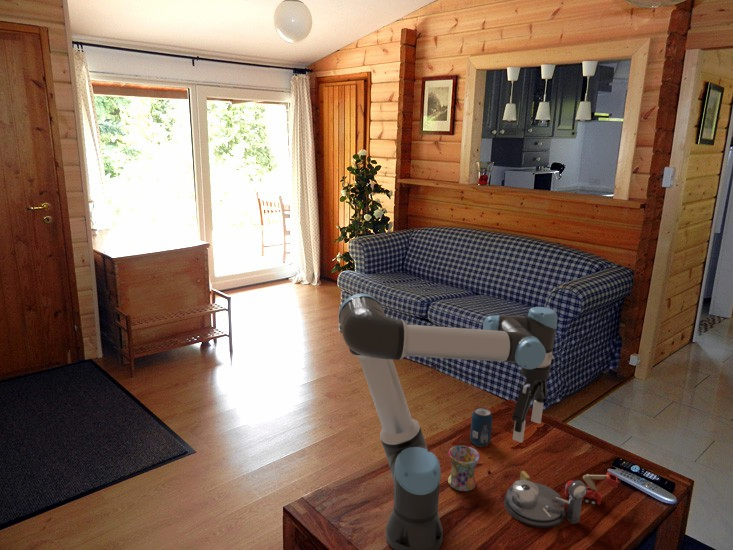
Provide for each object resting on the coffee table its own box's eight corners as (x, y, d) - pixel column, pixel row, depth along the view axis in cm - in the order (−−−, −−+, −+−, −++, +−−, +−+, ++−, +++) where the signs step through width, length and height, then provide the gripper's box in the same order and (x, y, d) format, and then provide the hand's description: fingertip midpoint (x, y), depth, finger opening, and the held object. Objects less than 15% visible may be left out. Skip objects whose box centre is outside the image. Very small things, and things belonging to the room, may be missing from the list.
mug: (481, 492, 167) (484, 461, 164) (452, 495, 165) (454, 464, 162) (467, 469, 178) (470, 439, 175) (440, 471, 176) (442, 441, 174)
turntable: (524, 526, 151) (526, 509, 149) (496, 490, 166) (498, 474, 164) (575, 517, 155) (578, 500, 153) (543, 482, 170) (545, 467, 168)
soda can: (477, 434, 198) (480, 404, 195) (494, 442, 193) (497, 411, 190) (465, 441, 193) (468, 410, 190) (482, 450, 188) (484, 418, 185)
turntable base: (523, 532, 151) (523, 528, 150) (493, 493, 166) (494, 489, 166) (577, 522, 155) (578, 518, 155) (543, 485, 171) (544, 481, 170)
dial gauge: (563, 526, 153) (568, 486, 150) (552, 513, 158) (557, 475, 155) (582, 522, 155) (588, 483, 152) (571, 510, 160) (577, 472, 156)
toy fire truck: (564, 491, 168) (568, 463, 166) (613, 503, 163) (618, 474, 161) (563, 497, 165) (567, 469, 163) (613, 510, 160) (618, 481, 158)
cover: (519, 510, 155) (521, 496, 154) (507, 495, 161) (508, 481, 160) (541, 507, 157) (543, 493, 155) (528, 491, 163) (530, 478, 162)
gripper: (532, 381, 142) (522, 454, 147) (564, 353, 161) (554, 419, 167) (505, 372, 146) (496, 444, 152) (539, 346, 166) (530, 410, 171)
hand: (526, 431), depth 159 cm, fingers open, 13 cm apart
